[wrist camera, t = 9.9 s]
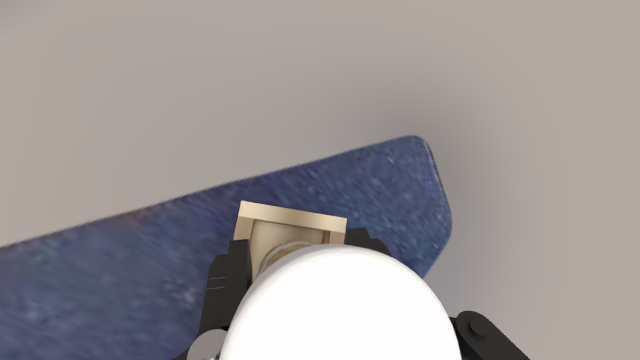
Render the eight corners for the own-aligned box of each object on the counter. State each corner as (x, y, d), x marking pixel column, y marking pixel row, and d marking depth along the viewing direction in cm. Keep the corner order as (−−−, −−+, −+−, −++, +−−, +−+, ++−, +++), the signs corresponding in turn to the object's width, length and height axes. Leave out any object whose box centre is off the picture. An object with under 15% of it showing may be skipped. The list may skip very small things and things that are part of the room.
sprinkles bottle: (333, 246, 18) (483, 271, 5) (320, 320, 17) (466, 570, 4) (265, 232, 18) (250, 222, 5) (247, 307, 17) (166, 551, 4)
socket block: (224, 305, 24) (216, 318, 21) (245, 205, 26) (241, 200, 23) (322, 316, 26) (332, 331, 22) (336, 220, 28) (346, 218, 24)
